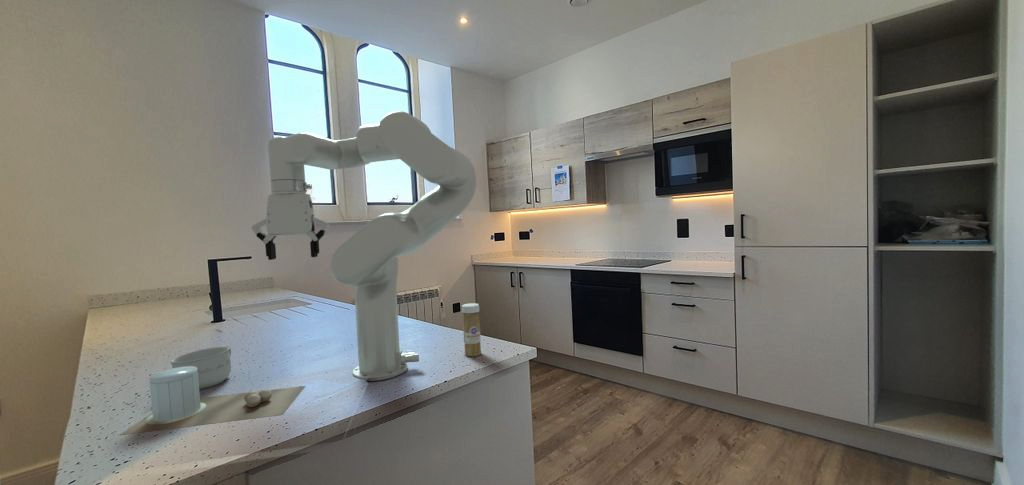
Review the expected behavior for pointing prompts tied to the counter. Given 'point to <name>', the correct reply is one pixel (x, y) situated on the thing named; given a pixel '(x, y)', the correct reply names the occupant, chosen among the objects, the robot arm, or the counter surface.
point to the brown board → (227, 409)
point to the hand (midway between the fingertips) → (293, 258)
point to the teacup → (207, 364)
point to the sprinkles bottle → (471, 329)
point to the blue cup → (175, 393)
